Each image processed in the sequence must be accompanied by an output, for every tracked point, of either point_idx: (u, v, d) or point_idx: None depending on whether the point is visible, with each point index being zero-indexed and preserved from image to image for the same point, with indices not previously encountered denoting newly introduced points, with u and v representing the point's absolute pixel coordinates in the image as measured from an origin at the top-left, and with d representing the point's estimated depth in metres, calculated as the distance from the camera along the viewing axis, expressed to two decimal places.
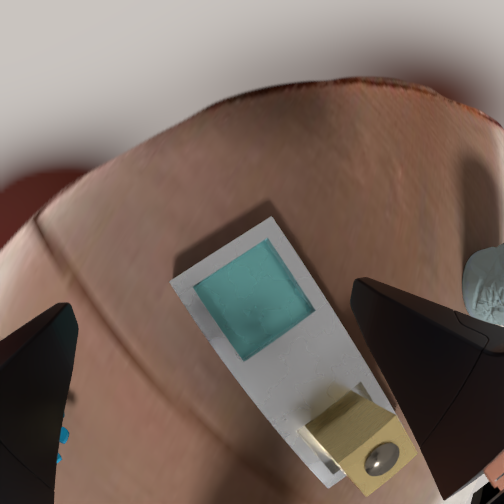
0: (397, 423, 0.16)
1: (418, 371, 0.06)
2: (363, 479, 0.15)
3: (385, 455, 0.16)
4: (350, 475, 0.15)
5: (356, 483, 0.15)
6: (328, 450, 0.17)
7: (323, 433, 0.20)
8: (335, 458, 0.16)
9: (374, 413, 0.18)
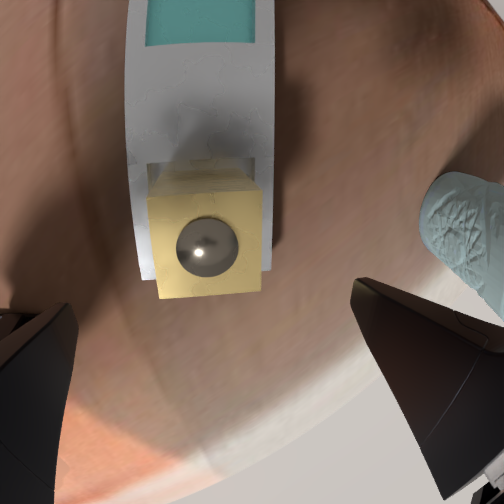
0: (257, 206, 0.13)
1: (418, 371, 0.06)
2: (167, 260, 0.14)
3: (214, 243, 0.13)
4: (153, 235, 0.13)
5: (155, 259, 0.13)
6: (154, 187, 0.14)
7: (170, 178, 0.16)
8: (150, 194, 0.13)
9: (240, 182, 0.15)
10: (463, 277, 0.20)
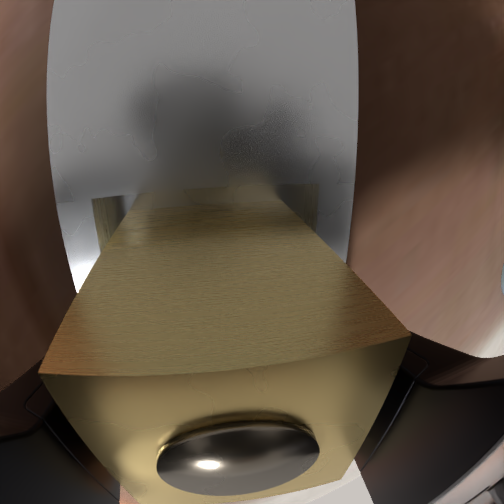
0: (386, 374, 0.04)
1: None
2: (140, 475, 0.04)
3: (258, 462, 0.04)
4: (91, 445, 0.04)
5: (114, 471, 0.04)
6: (81, 294, 0.05)
7: (135, 241, 0.07)
8: (58, 342, 0.03)
9: (320, 275, 0.05)
10: None
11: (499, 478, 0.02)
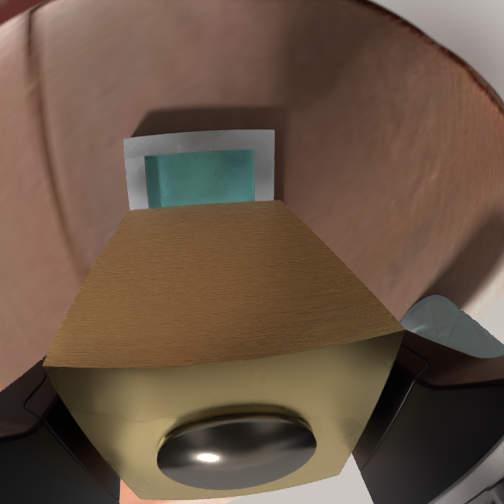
0: (381, 368, 0.04)
1: None
2: (141, 469, 0.04)
3: (257, 455, 0.04)
4: (93, 438, 0.04)
5: (114, 465, 0.04)
6: (84, 290, 0.05)
7: (136, 239, 0.07)
8: (61, 336, 0.04)
9: (317, 273, 0.05)
10: None
11: (499, 478, 0.02)
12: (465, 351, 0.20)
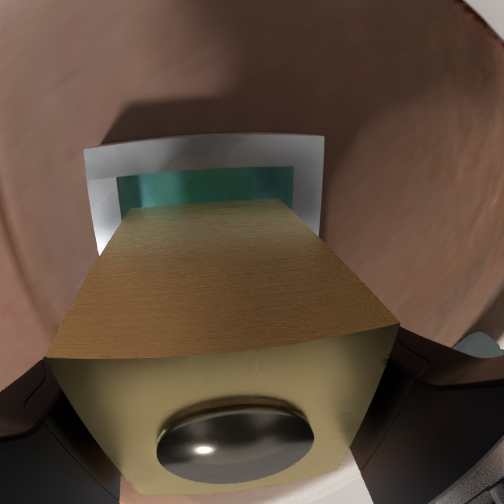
0: (377, 361, 0.04)
1: None
2: (141, 463, 0.04)
3: (255, 448, 0.04)
4: (94, 430, 0.04)
5: (115, 459, 0.04)
6: (86, 285, 0.05)
7: (137, 236, 0.07)
8: (64, 329, 0.04)
9: (314, 268, 0.06)
10: None
11: (499, 478, 0.02)
12: None
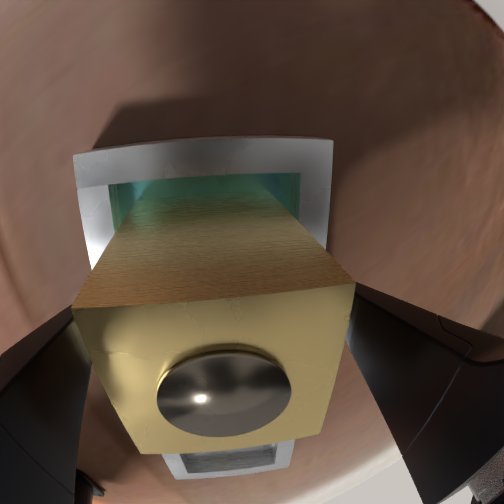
0: (340, 317, 0.05)
1: (399, 378, 0.06)
2: (143, 414, 0.06)
3: (240, 395, 0.06)
4: (104, 379, 0.05)
5: (120, 411, 0.06)
6: (102, 259, 0.06)
7: (144, 222, 0.08)
8: (85, 289, 0.05)
9: (290, 243, 0.07)
10: None
11: None
12: None
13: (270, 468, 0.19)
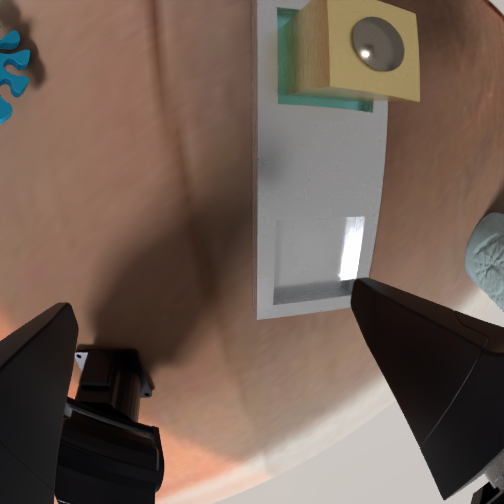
0: (413, 23, 0.10)
1: (418, 371, 0.06)
2: (342, 45, 0.10)
3: (386, 40, 0.10)
4: (331, 19, 0.10)
5: (330, 42, 0.10)
6: None
7: None
8: None
9: None
10: (499, 304, 0.23)
11: None
12: None
13: (347, 303, 0.24)
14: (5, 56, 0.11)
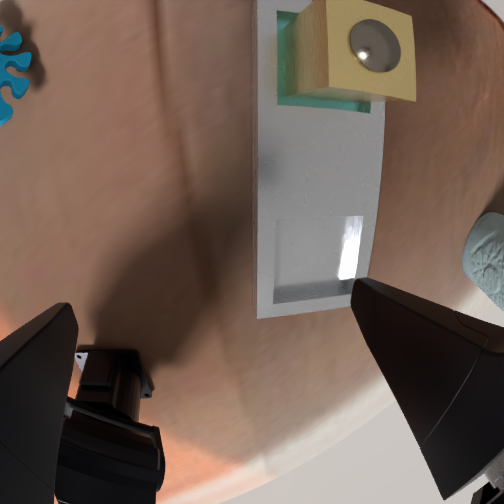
0: (409, 26, 0.10)
1: (418, 371, 0.06)
2: (340, 47, 0.11)
3: (383, 41, 0.11)
4: (329, 21, 0.10)
5: (329, 44, 0.11)
6: None
7: None
8: None
9: None
10: (497, 302, 0.23)
11: None
12: None
13: (346, 302, 0.24)
14: (7, 57, 0.12)
